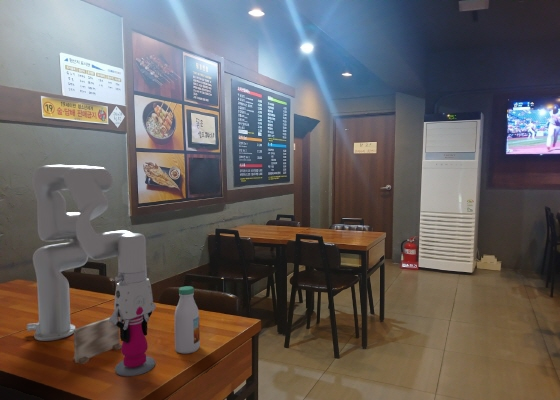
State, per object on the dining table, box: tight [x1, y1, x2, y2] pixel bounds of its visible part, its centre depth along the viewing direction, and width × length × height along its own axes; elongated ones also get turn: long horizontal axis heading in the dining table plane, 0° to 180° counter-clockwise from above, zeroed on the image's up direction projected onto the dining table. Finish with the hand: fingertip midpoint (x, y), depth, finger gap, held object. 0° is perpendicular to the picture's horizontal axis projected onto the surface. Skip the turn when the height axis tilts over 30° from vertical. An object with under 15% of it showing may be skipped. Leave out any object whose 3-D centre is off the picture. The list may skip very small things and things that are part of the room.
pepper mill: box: [120, 307, 149, 367], centre depth 112 cm, size 7×7×20 cm
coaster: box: [114, 355, 156, 377], centre depth 113 cm, size 11×11×1 cm
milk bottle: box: [174, 285, 201, 355], centre depth 124 cm, size 8×8×20 cm
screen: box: [72, 317, 122, 365], centre depth 121 cm, size 14×5×10 cm, turn 146°
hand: (134, 337), depth 113 cm, fingers closed on pepper mill, 5 cm apart
